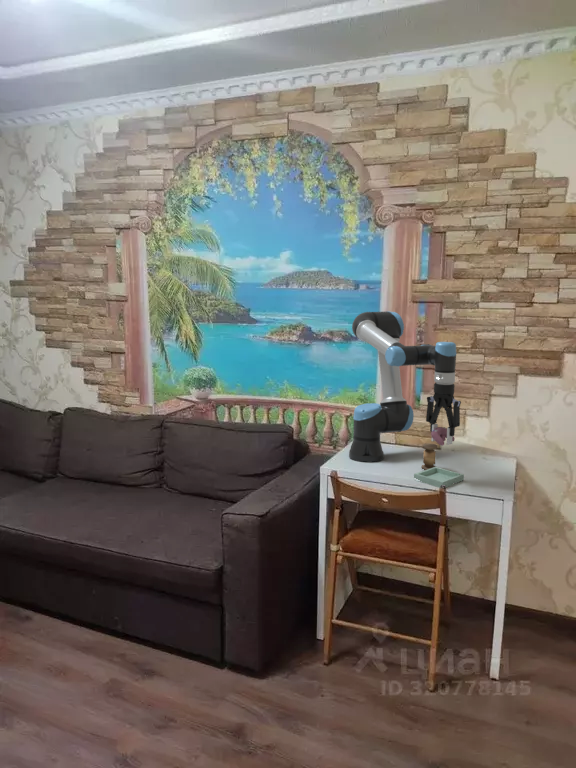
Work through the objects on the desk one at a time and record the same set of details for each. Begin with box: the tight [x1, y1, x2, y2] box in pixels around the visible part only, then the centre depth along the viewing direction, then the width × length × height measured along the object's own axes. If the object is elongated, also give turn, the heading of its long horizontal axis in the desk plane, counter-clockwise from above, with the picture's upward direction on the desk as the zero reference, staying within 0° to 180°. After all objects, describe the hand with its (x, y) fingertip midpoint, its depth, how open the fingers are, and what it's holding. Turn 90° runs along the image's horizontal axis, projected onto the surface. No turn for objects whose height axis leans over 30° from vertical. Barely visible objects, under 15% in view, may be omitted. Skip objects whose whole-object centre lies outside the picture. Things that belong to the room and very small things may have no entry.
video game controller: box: [430, 426, 455, 447], centre depth 222 cm, size 10×5×7 cm, turn 137°
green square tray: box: [413, 466, 465, 489], centre depth 223 cm, size 13×14×2 cm
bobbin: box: [421, 443, 438, 471], centre depth 236 cm, size 6×6×10 cm
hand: (441, 442), depth 221 cm, fingers closed on video game controller, 6 cm apart
